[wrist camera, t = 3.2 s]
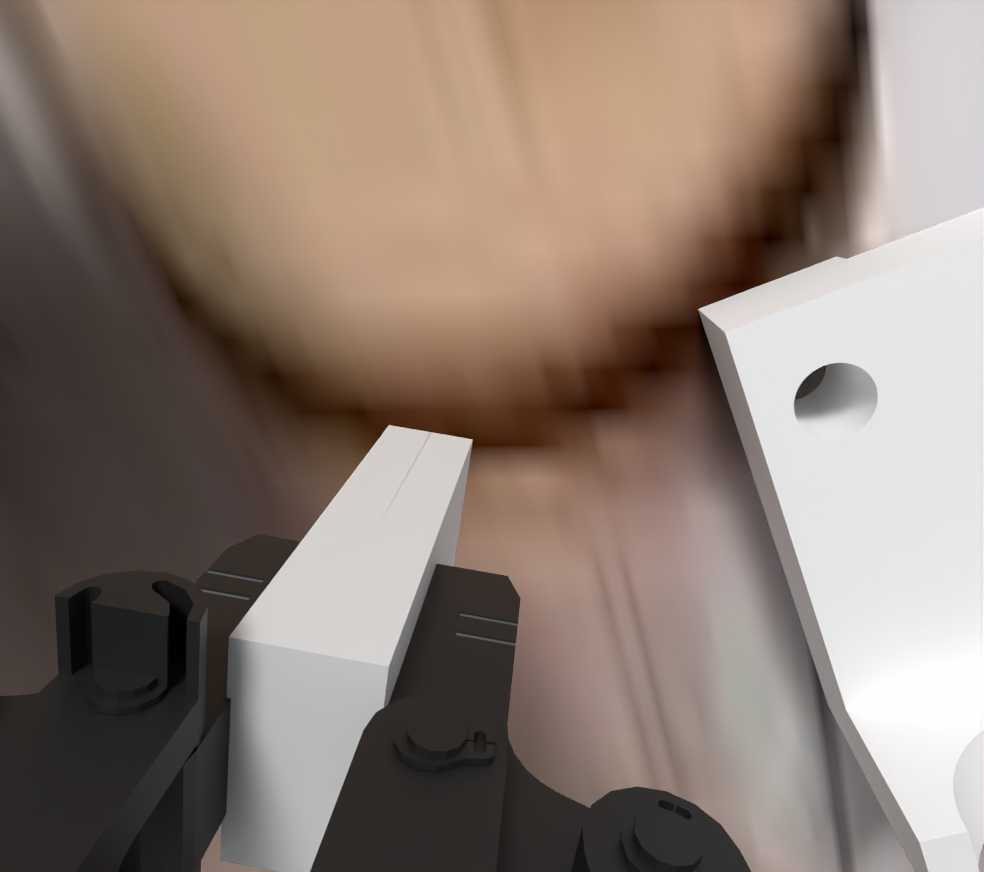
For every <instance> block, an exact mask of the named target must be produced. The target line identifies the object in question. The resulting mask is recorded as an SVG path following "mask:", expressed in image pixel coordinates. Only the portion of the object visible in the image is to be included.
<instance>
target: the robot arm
mask: <svg viewBox="0 0 984 872" xmlns="http://www.w3.org/2000/svg"><path fill="white" fill-rule="evenodd" d="M472 441H473V440H472V439H466V438H461V437H455V436H449V435H443V434H437V433H431V432H426V431H420V430H414V429H408V428H402V427H397V426H391V425H389V426H388V427H387V429H386V430H385V431H384V433H383V434H382V435H381V437H380V438H379V439H378V441H377V442H376V443H375V444H374V446H373V447H372V448H371V450H370V451H369V452H368V454H367V455H366V456H365V458H364V459H363V460H362V462H361V463H360V464H359V466H358V467H357V468H356V470H355V471H354V472H353V474H352V475H351V476H350V478H349V479H348V480H347V482H346V483H345V484H344V485H343V487H342V488H341V489H340V491H339V492H338V493H337V495H336V496H335V497H334V499H333V500H332V501H331V503H330V504H329V505H328V507H327V508H326V509H325V511H324V512H323V513H322V515H321V516H320V517H319V519H318V520H317V521H316V522H315V524H314V525H313V526H312V528H311V529H310V530H309V532H308V533H307V534H306V536H305V537H304V538H303V540H302V541H301V542H298V541H293V540H287V539H281V538H276V537H270V536H265V535H259V534H258V535H256V536H254V537H251V538H249V539H247V540H245V541H243V542H241V543H239V544H236V545H234V546H232V547H230V548H228V549H227V550H226V551H225V552H224V553H223V554H222V555H221V556H220V557H219V558H218V559H217V560H216V561H215V563H214V564H213V565H212V566H211V567H210V568H209V570H208V573H204V574H203V575H202V576H201V577H200V578H199V579H198V580H197V581H196V583H195V584H193V583H192V582H191V581H189V580H187V579H184V578H181V577H178V576H174V575H171V574H168V573H163V572H149V571H130V572H121V573H112V574H106V575H102V576H99V577H96V578H92V579H89V580H86V581H82V582H79V583H77V584H75V585H73V586H72V587H70V588H68V589H66V590H65V591H63V592H61V593H59V594H58V595H56V596H55V607H56V628H57V648H58V668H59V674H58V675H57V676H56V677H55V678H54V679H53V680H52V681H51V682H50V683H49V684H48V685H47V686H46V687H45V688H44V689H42V690H41V691H40V692H39V693H38V694H29V695H19V696H0V872H201V859H202V857H203V856H204V854H205V852H206V850H207V848H208V846H209V845H210V843H211V841H212V839H213V837H214V835H215V833H216V832H217V830H218V828H219V826H220V824H221V822H222V828H221V854H220V860H222V861H227V862H232V863H237V864H242V865H247V866H252V867H257V868H262V869H267V870H272V871H277V872H751V871H750V869H749V867H748V865H747V863H746V861H745V859H744V857H743V855H742V854H741V852H740V850H739V849H738V847H737V846H736V845H735V843H734V842H733V841H732V839H731V838H730V837H729V835H728V834H727V832H726V831H725V830H724V828H723V827H722V826H721V825H720V824H719V823H718V822H717V821H715V820H714V819H713V818H712V817H710V816H709V815H708V814H706V813H705V812H704V811H703V810H701V809H700V808H699V807H698V806H696V805H695V804H693V803H691V802H689V801H686V800H684V799H682V798H680V797H677V796H675V795H673V794H671V793H669V792H666V791H661V790H655V789H648V788H642V787H632V788H626V789H621V790H615V791H611V792H609V793H608V794H606V795H605V796H604V797H602V798H601V799H599V800H598V801H596V802H595V803H594V804H592V806H591V808H588V807H586V806H584V805H582V804H580V803H578V802H576V801H574V800H572V799H569V798H567V797H565V796H563V795H561V794H559V793H558V792H556V791H554V790H553V789H551V788H549V787H547V786H546V785H544V784H542V783H541V782H540V781H539V780H538V779H536V778H535V777H534V776H533V775H532V774H531V773H530V772H528V771H527V770H526V769H525V768H524V766H523V765H522V764H521V762H520V761H519V759H518V758H517V757H516V755H515V754H514V752H513V749H512V747H511V744H510V742H509V739H508V729H507V720H508V711H509V701H510V692H511V682H512V673H513V663H514V654H515V643H516V635H517V624H518V616H519V607H520V597H519V595H518V594H517V592H516V590H515V588H514V587H513V585H512V583H511V581H510V580H509V578H508V576H503V575H498V574H492V573H486V572H481V571H475V570H470V569H464V568H458V567H454V562H455V555H456V548H457V542H458V535H459V528H460V521H461V515H462V508H463V501H464V495H465V488H466V481H467V474H468V468H469V461H470V454H471V447H472Z"/></svg>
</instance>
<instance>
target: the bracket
mask: <svg viewBox="0 0 984 872" xmlns="http://www.w3.org/2000/svg"><path fill="white" fill-rule="evenodd" d="M698 311H699V314H700V317H701V320H702V323H703V326H704V329H705V332H706V335H707V338H708V341H709V344H710V347H711V350H712V353H713V356H714V359H715V362H716V366H717V369H718V372H719V375H720V378H721V381H722V384H723V387H724V390H725V393H726V396H727V399H728V402H729V405H730V408H731V411H732V414H733V417H734V420H735V423H736V426H737V430H738V433H739V436H740V439H741V442H742V445H743V448H744V451H745V454H746V457H747V460H748V463H749V466H750V469H751V472H752V475H753V478H754V481H755V484H756V487H757V490H758V494H759V497H760V500H761V503H762V506H763V509H764V512H765V515H766V518H767V521H768V524H769V527H770V530H771V533H772V536H773V539H774V542H775V545H776V548H777V551H778V554H779V558H780V561H781V564H782V567H783V570H784V573H785V576H786V579H787V582H788V585H789V588H790V591H791V594H792V597H793V600H794V603H795V606H796V609H797V612H798V615H799V618H800V622H801V625H802V628H803V631H804V634H805V637H806V640H807V643H808V646H809V649H810V652H811V655H812V658H813V661H814V664H815V667H816V670H817V673H818V676H819V679H820V682H821V686H822V689H823V692H824V695H825V698H826V701H827V704H828V706H829V708H830V710H831V712H832V714H833V716H834V718H835V720H836V721H837V723H838V725H839V727H840V729H841V731H842V733H843V735H844V737H845V739H846V741H847V743H848V744H849V746H850V748H851V750H852V752H853V754H854V756H855V758H856V760H857V762H858V764H859V765H860V767H861V769H862V771H863V773H864V775H865V777H866V779H867V781H868V783H869V785H870V787H871V788H872V790H873V792H874V794H875V796H876V798H877V800H878V802H879V804H880V806H881V808H882V809H883V811H884V813H885V815H886V817H887V819H888V821H889V823H890V825H891V827H892V829H893V830H894V832H895V834H896V836H897V838H898V840H899V842H900V844H901V846H902V848H903V850H904V852H905V853H906V855H907V857H908V859H909V861H910V863H911V865H912V867H913V869H914V871H915V872H979V869H978V862H979V856H980V852H981V849H982V846H983V843H984V207H983V208H980V209H977V210H975V211H972V212H969V213H967V214H964V215H962V216H959V217H956V218H954V219H951V220H948V221H946V222H943V223H940V224H938V225H935V226H932V227H930V228H927V229H924V230H922V231H919V232H917V233H914V234H911V235H909V236H906V237H903V238H901V239H898V240H895V241H893V242H890V243H887V244H885V245H882V246H879V247H877V248H874V249H872V250H869V251H866V252H864V253H861V254H858V255H856V256H853V257H850V258H848V259H844V258H840V257H834V258H832V259H829V260H826V261H824V262H821V263H818V264H816V265H813V266H810V267H808V268H805V269H803V270H800V271H797V272H795V273H792V274H789V275H787V276H784V277H781V278H779V279H776V280H774V281H771V282H768V283H766V284H763V285H760V286H758V287H755V288H752V289H750V290H747V291H745V292H742V293H739V294H737V295H734V296H731V297H729V298H726V299H724V300H721V301H718V302H716V303H713V304H710V305H708V306H705V307H702V308H700V309H698ZM825 365H826V371H825V375H824V377H823V379H822V381H821V383H820V384H819V386H818V387H817V388H816V389H815V390H814V391H813V392H811V393H810V394H808V395H807V396H805V397H802V398H800V399H796V400H795V396H796V392H797V390H798V388H799V386H800V385H801V383H802V382H803V381H804V379H805V378H806V377H807V376H808V375H809V374H811V373H812V372H813V371H815V370H816V369H818V368H820V367H822V366H825Z"/></svg>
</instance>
